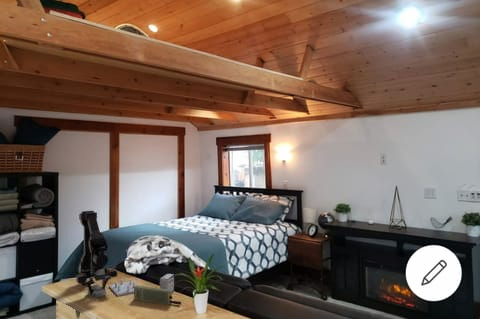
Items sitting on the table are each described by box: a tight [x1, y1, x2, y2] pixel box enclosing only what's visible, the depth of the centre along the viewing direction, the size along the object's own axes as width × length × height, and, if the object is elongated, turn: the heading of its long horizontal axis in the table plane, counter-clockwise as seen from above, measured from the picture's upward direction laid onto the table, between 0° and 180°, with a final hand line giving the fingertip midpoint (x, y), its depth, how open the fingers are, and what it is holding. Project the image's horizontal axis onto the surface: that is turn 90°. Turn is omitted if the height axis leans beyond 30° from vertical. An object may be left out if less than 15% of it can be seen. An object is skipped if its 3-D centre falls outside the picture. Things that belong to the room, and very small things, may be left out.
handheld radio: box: [133, 284, 182, 306], centre depth 166 cm, size 7×3×25 cm
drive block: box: [87, 284, 107, 299], centre depth 175 cm, size 9×5×4 cm, turn 47°
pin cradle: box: [108, 278, 137, 297], centre depth 183 cm, size 16×12×4 cm
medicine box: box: [159, 273, 175, 293], centre depth 178 cm, size 8×4×9 cm, turn 169°
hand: (96, 292), depth 175 cm, fingers closed on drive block, 5 cm apart
